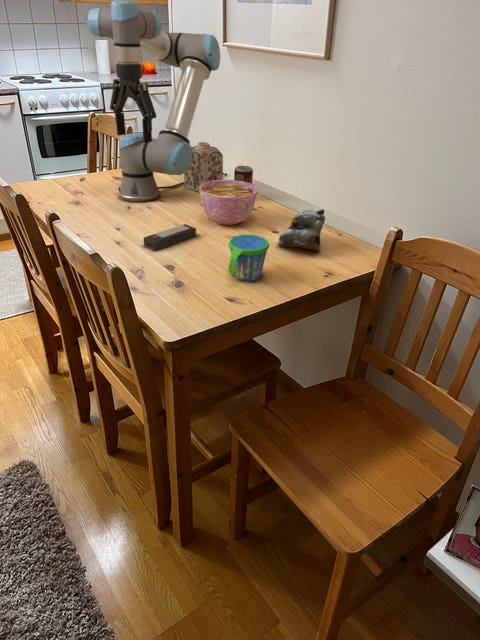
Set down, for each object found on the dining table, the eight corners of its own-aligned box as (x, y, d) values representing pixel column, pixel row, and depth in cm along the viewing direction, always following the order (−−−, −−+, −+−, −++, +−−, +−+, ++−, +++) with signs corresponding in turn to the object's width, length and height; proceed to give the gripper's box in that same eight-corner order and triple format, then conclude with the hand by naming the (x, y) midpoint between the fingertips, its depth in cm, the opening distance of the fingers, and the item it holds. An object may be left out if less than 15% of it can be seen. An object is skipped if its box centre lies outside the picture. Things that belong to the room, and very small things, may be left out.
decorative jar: (201, 182, 208) (201, 138, 198) (223, 187, 202) (224, 143, 193) (183, 188, 199) (182, 143, 190) (205, 194, 194) (205, 148, 184)
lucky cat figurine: (269, 243, 154) (281, 200, 152) (298, 252, 160) (310, 211, 158) (296, 247, 141) (309, 200, 139) (327, 257, 147) (340, 212, 146)
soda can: (248, 202, 187) (250, 170, 181) (231, 200, 189) (232, 168, 182) (253, 197, 193) (255, 165, 187) (236, 195, 195) (237, 164, 188)
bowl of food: (187, 220, 169) (186, 187, 163) (227, 207, 182) (228, 176, 175) (228, 236, 158) (229, 201, 151) (268, 221, 170) (270, 189, 164)
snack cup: (244, 292, 126) (245, 256, 121) (214, 279, 132) (214, 244, 126) (279, 272, 136) (282, 239, 131) (250, 261, 142) (252, 228, 136)
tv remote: (185, 231, 160) (185, 222, 158) (196, 236, 157) (196, 227, 155) (144, 246, 149) (143, 236, 147) (154, 251, 146) (154, 241, 144)
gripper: (166, 66, 138) (169, 143, 150) (114, 59, 152) (120, 130, 164) (145, 67, 134) (149, 147, 145) (93, 60, 148) (101, 133, 159)
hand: (134, 138), depth 154 cm, fingers open, 13 cm apart
